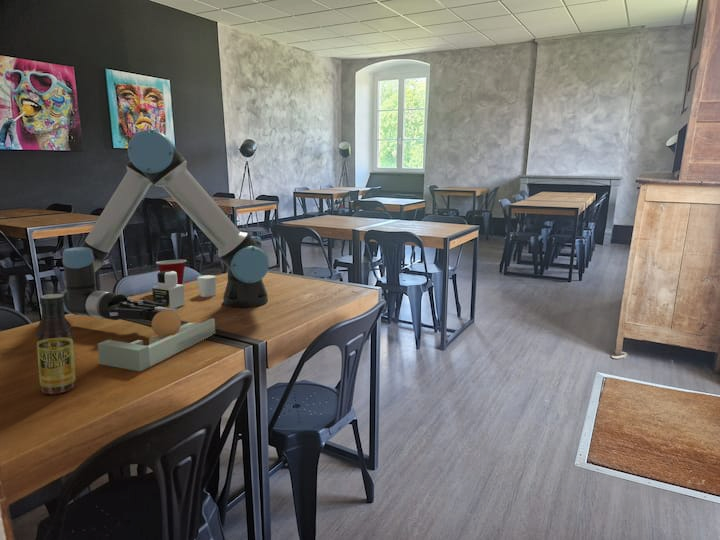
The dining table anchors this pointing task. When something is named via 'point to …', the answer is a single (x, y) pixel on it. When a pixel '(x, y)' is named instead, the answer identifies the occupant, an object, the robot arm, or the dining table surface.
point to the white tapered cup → (207, 285)
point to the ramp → (153, 347)
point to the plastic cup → (173, 268)
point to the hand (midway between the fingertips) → (176, 314)
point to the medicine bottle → (168, 290)
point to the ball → (166, 323)
